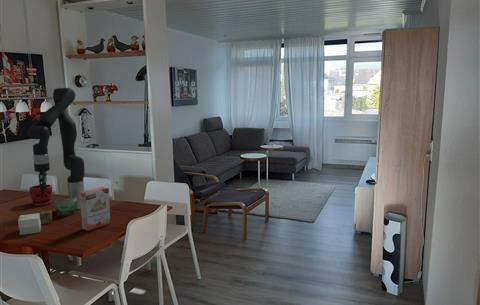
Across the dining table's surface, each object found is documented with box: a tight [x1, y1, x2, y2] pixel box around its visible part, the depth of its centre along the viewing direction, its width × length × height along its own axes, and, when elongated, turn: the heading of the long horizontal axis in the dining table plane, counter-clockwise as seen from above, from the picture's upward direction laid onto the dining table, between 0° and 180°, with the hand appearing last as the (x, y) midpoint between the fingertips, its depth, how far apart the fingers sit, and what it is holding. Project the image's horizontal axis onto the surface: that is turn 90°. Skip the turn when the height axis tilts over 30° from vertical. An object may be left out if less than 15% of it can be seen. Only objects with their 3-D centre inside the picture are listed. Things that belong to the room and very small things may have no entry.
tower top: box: [17, 212, 41, 229], centre depth 190 cm, size 9×9×4 cm
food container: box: [53, 197, 77, 218], centre depth 214 cm, size 12×6×10 cm, turn 118°
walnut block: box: [40, 209, 53, 225], centre depth 203 cm, size 5×5×6 cm
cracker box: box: [80, 186, 111, 232], centre depth 195 cm, size 14×6×21 cm, turn 145°
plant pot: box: [28, 183, 53, 207], centre depth 236 cm, size 13×13×12 cm
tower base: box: [18, 219, 42, 236], centre depth 191 cm, size 9×9×4 cm
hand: (43, 190), depth 201 cm, fingers open, 8 cm apart
